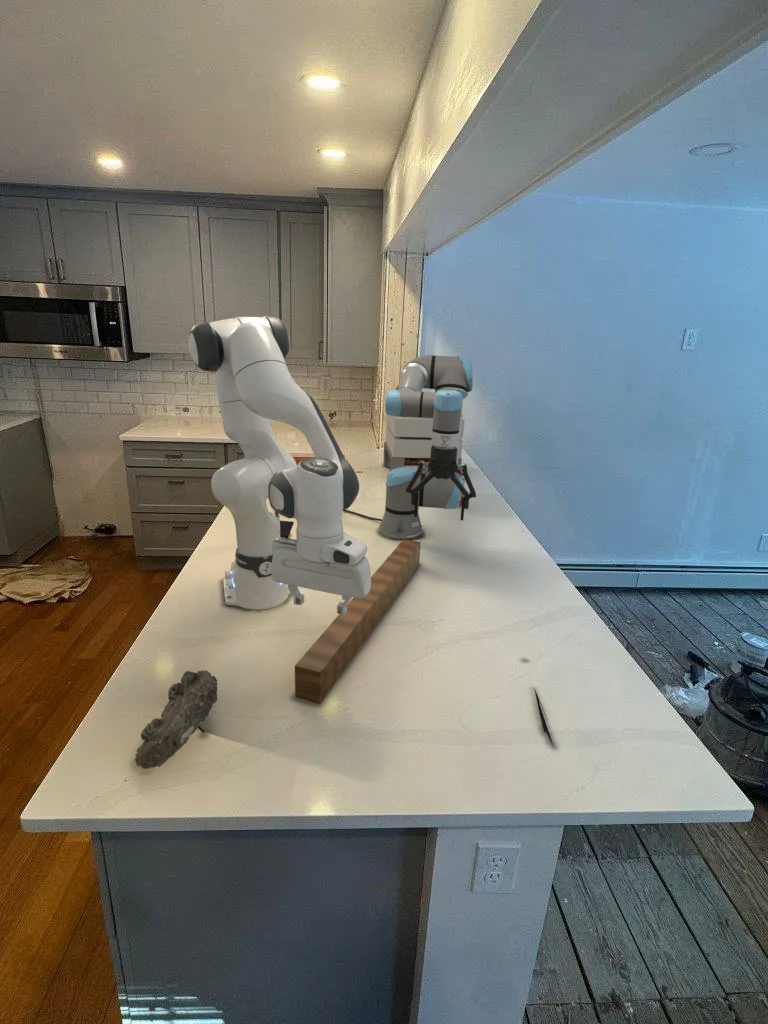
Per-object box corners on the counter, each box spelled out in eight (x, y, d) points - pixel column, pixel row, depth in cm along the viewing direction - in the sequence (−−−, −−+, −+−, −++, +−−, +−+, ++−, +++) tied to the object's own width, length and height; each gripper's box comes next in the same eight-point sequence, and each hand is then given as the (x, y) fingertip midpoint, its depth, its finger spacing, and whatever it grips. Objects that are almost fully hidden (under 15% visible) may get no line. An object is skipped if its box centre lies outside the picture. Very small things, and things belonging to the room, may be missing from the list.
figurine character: (288, 562, 177) (294, 539, 190) (288, 541, 173) (294, 518, 187) (267, 561, 177) (274, 538, 190) (266, 540, 173) (273, 518, 187)
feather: (525, 664, 131) (530, 658, 130) (552, 749, 104) (559, 742, 103) (519, 660, 130) (524, 654, 130) (545, 745, 104) (552, 738, 103)
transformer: (382, 463, 289) (386, 382, 275) (445, 464, 293) (451, 384, 279) (390, 482, 257) (394, 392, 243) (460, 483, 261) (468, 394, 247)
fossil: (167, 671, 114) (219, 638, 109) (200, 702, 116) (252, 671, 112) (109, 762, 94) (169, 727, 89) (151, 796, 97) (212, 765, 92)
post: (402, 561, 178) (403, 539, 176) (419, 564, 177) (420, 542, 174) (295, 697, 114) (294, 665, 112) (320, 704, 113) (320, 672, 110)
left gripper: (263, 541, 108) (266, 605, 113) (362, 559, 102) (361, 626, 107) (280, 530, 114) (281, 591, 119) (375, 546, 108) (373, 610, 112)
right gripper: (399, 446, 157) (395, 517, 165) (489, 452, 155) (481, 524, 162) (401, 440, 165) (397, 509, 172) (488, 446, 162) (480, 515, 169)
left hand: (320, 608), depth 113 cm, fingers open, 8 cm apart
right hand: (438, 517), depth 167 cm, fingers open, 13 cm apart
